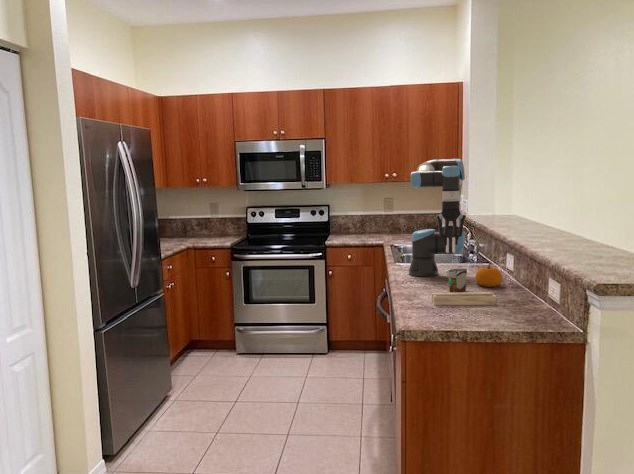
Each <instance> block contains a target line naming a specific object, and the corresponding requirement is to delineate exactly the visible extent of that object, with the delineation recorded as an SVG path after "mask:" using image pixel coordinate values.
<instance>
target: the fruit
mask: <svg viewBox="0 0 634 474" xmlns="http://www.w3.org/2000/svg"><path fill="white" fill-rule="evenodd" d="M475 282H476V283H477V284H478V285H479V286H480V287H481V286H482V287H485V288H495V287H499V285H501V284H502V282H503V273H502V272H501V270H499V269H498V268H497V267H493V266H491V264H488V266H484V267H481V268H479V269H478V270H477V272H476V274H475Z"/></svg>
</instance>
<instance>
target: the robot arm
mask: <svg viewBox="0 0 634 474" xmlns="http://www.w3.org/2000/svg"><path fill="white" fill-rule="evenodd" d="M465 176H466V174H465V166H464V162H463V160H462V159H461V158H445V159H442V158H441V159H430V160H427V161H424V162H422V163H421V164H419V165H418V166H417V168H416V171H412V172H411V173H410V186H411V188H417V189H418V188H442V190H441V195H442V196H441V200H442V202H441V204H442V205H441V206H442V207H441V212H440V214H438V215H435V218H436V220H437V226H438V231H436V229H434V228H426V229H421V230H415V231H414V232H413V233H412V234H411V235H412V236H411V244H412V245H411V250H412V251H411V261H410V262H411V263H410V265H409V267H408V274H409V275H410V276H415V277H423V278H425V277H426V278H427V277H435V276H438V275H439V268H438V266H437V265H438V264H437V262H436V255H444V256H445V255H452V256H455V255H456V256H457V255H462V254H463V252H464V246H465V241H466V240H465V239H466V232H465V231H463V230H464V224H465V220H466V217H467V216H466V214H462V212H461V211H460V185H462V184H463V181H464V180H465V178H466V177H465Z"/></svg>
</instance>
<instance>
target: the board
mask: <svg viewBox="0 0 634 474" xmlns="http://www.w3.org/2000/svg"><path fill="white" fill-rule="evenodd" d="M431 302H432V303H433V305H434V306H452V305H453V306H458V305H459V306H465V305H466V306H467V305H468V306H469V305H470V306H473V305H477V306H478V305H479V306H480V305H481V306H483V305H490V306H491V305H493V306H495V305H496V304H497V296H496V295H495V294H494V293H493V292H492V291H490V292H489V291H488V292H486V291H485V292H484V291H483V292H482V291H479V292H473V291H472V292H468V291H466V292H464V293H450V292H432V293H431Z"/></svg>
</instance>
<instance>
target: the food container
mask: <svg viewBox="0 0 634 474" xmlns="http://www.w3.org/2000/svg"><path fill="white" fill-rule="evenodd" d="M446 274H447V275H446V277H448V287H449V293H466V292H467V291H466V290H467V274H468V269H467V268H451V269H449V270H448V271H447V273H446Z"/></svg>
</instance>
